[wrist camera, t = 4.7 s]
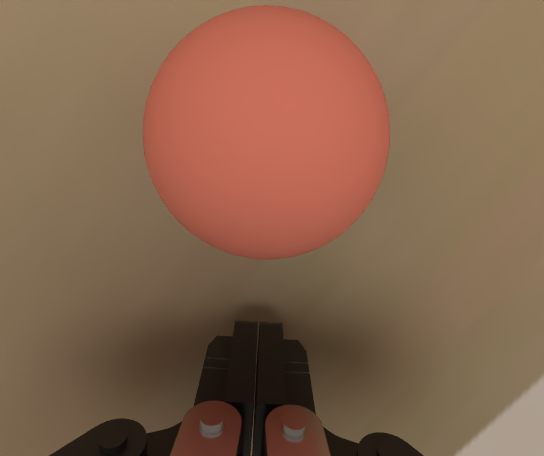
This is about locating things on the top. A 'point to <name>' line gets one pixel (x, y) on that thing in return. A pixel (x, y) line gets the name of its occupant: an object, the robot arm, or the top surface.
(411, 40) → the top surface
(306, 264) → the top surface
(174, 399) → the top surface
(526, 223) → the top surface
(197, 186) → the ball
